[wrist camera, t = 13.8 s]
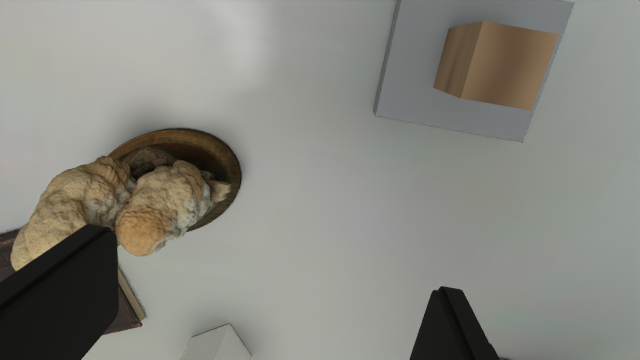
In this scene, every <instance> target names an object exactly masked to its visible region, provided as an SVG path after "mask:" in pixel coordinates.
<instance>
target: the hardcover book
mask: <svg viewBox="0 0 640 360" xmlns="http://www.w3.org/2000/svg"><path fill="white" fill-rule="evenodd" d="M20 230H21V229H19V230H15V231H12V232H8V233H5V234H1V235H0V282H1V281H3V280H4V279H6V278H7V277H9V276H10V275H12V274H13V273H15V272H16V270H14V267H13V266H12V263H11V256H10V255H11V253H12V249H13V245H14V241H15V240H16V237H17V235H18V233H19V231H20ZM118 291H119V311H118V314H117V316H116V318H115V320H114V321H113V323H112V324H111V325H110V326H109V327H108V328H107V330H106V331H105V332H104V333H103V334H102V335H105V334H110V333H114V332H119V331H123V330H128V329H132V328H137V327H141V326H142V323H141V322H140V321H141V320H142V319H144V316H145V314H144V312H143V310H142V309H141V307H140V305H139V303H138V301H137V300H136V298H135V296H134V294H133V292H132V290H131V289H130V287H129V285H128V283H127V281H126V280H125V278H124V276H123V274H122V272H121V270H120V269H119V267H118Z"/></svg>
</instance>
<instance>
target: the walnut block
mask: <svg viewBox="0 0 640 360" xmlns="http://www.w3.org/2000/svg"><path fill="white" fill-rule="evenodd" d="M558 36H559V34H555V33H549V32H543V31H538V30H532V29H526V28H520V27H515V26H509V25H503V24H497V23H492V22H486V21H481V22H476V23H472V24H467V25H463V26H458V27H454V28H449V29H448V33H447V36H446V40H445V44H444V48H443V52H442V55H441V59H440V63H439V67H438V70H437V74H436V78H435V82H434V86H433V88H435V89H437V90H440V91H443V92H445V93H448V94H450V95H453V96H456V97H458V98H461V99H467V100H472V101H478V102H484V103H490V104H495V105H501V106H507V107H513V108H518V109H524V110H530V111H531V110H532V107H533V105H534V102H535V99H536V96H537V94H538V91H539V88H540V85H541V83H542V80H543V77H544V74H545V72H546V69H547V66H548V63H549V61H550V58H551V55H552V52H553V50H554V47H555V44H556V41H557V39H558Z"/></svg>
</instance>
